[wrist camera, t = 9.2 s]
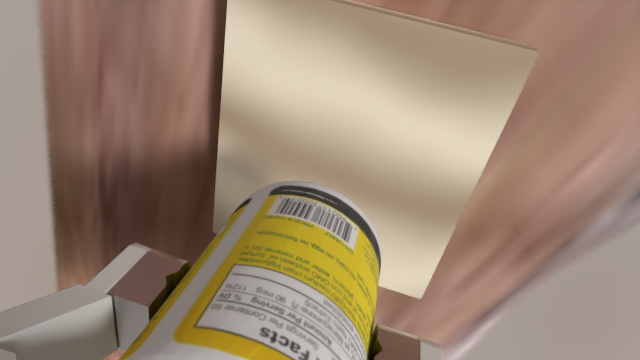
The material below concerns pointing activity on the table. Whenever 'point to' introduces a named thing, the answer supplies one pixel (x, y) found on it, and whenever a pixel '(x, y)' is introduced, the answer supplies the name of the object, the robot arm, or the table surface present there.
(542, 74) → the table surface
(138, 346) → the supplement bottle
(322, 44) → the ash board
